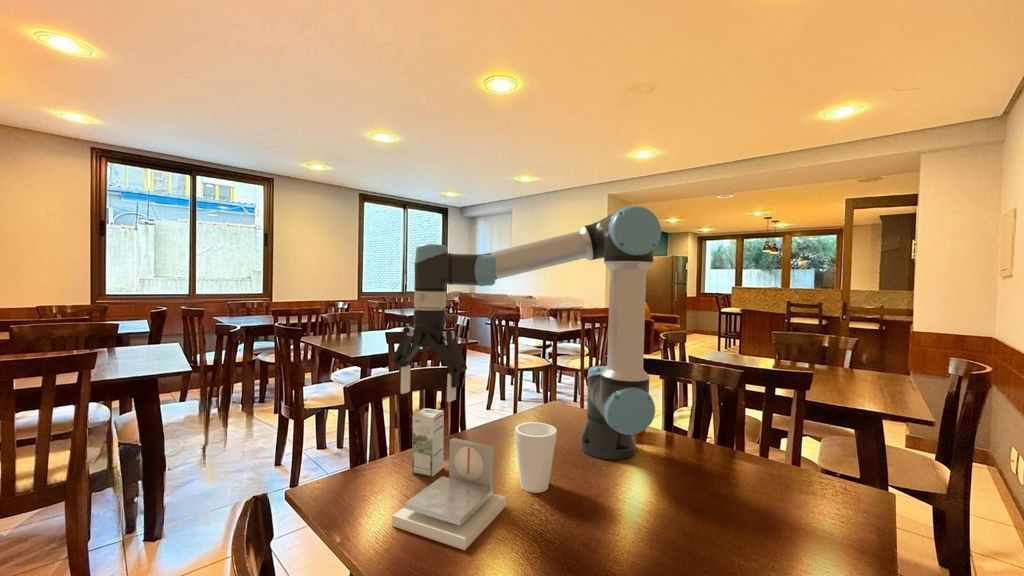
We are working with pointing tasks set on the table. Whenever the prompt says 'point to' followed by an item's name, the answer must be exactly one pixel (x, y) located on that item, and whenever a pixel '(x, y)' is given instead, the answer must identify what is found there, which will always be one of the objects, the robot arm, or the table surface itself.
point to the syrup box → (427, 442)
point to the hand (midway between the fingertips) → (427, 396)
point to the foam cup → (535, 454)
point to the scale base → (469, 467)
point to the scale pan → (449, 500)
